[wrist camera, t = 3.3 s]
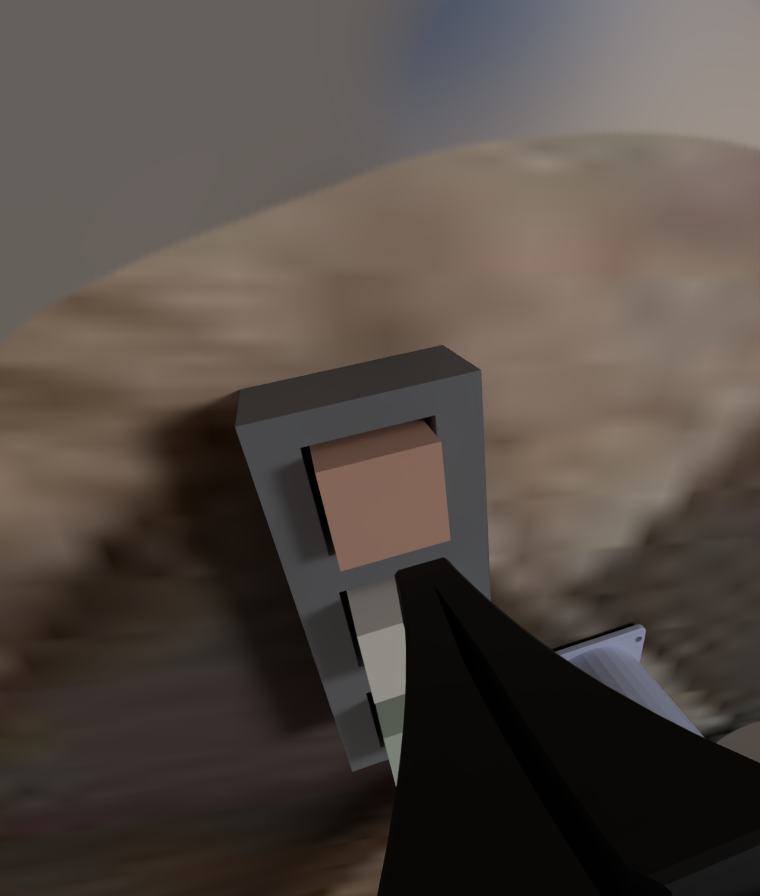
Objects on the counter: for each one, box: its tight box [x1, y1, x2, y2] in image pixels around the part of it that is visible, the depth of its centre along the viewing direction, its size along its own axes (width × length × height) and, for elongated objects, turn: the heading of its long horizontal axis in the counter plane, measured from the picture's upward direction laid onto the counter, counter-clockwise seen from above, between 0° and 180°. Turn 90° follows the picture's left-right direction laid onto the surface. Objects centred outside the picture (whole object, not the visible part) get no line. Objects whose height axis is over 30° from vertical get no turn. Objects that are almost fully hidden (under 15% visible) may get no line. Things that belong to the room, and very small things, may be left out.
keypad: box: [235, 345, 491, 772], centre depth 20 cm, size 20×8×4 cm, turn 9°
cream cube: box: [346, 576, 406, 704], centre depth 18 cm, size 4×4×4 cm
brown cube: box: [309, 419, 451, 571], centre depth 16 cm, size 4×4×4 cm
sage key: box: [375, 694, 405, 785], centre depth 21 cm, size 4×4×4 cm
